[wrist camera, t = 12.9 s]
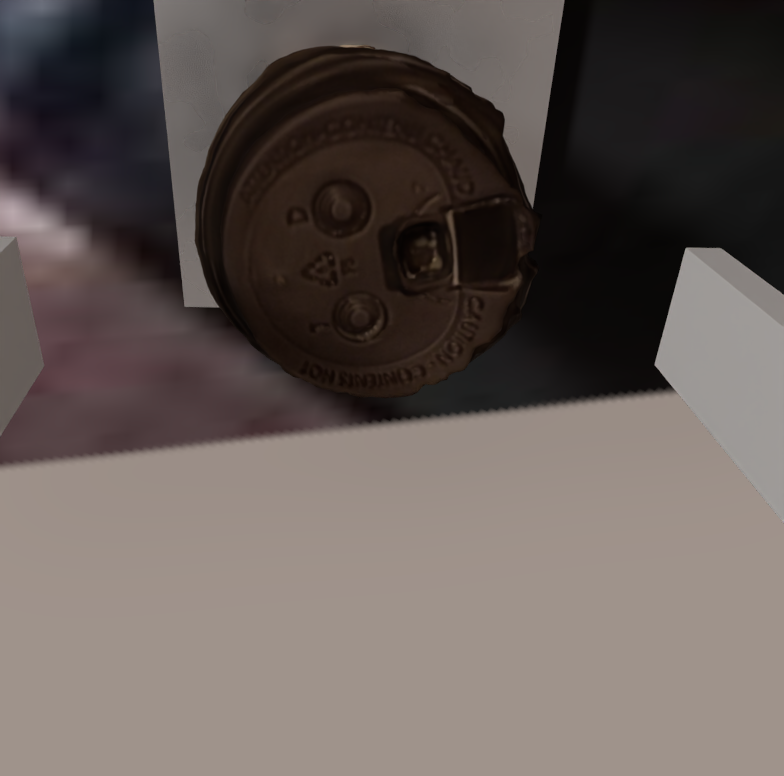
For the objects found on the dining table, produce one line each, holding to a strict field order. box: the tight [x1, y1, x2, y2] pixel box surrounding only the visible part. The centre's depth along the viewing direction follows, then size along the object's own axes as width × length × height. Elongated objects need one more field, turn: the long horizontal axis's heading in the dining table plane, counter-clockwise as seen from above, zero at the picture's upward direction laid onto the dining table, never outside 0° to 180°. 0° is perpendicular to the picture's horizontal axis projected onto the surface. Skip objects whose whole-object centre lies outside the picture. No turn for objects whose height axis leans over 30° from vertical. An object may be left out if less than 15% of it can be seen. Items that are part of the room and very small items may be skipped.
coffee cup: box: [195, 45, 542, 398], centre depth 22 cm, size 9×8×13 cm
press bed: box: [154, 0, 564, 307], centre depth 28 cm, size 14×14×2 cm
